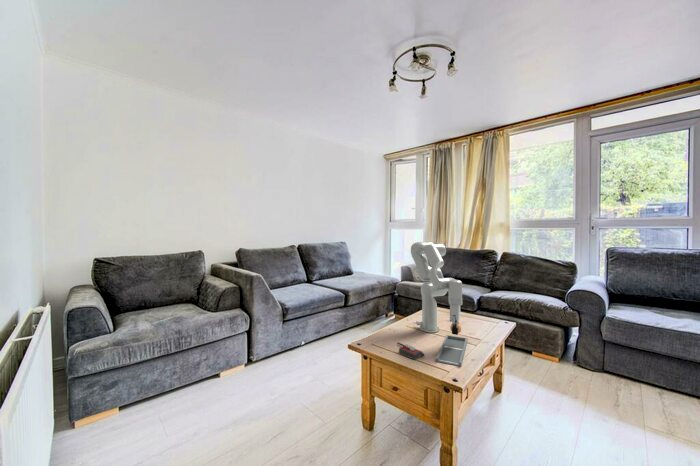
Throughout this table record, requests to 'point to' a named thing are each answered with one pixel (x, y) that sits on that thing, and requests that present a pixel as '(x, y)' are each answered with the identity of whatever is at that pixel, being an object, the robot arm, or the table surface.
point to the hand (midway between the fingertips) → (455, 332)
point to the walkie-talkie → (410, 351)
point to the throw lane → (452, 350)
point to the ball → (457, 327)
